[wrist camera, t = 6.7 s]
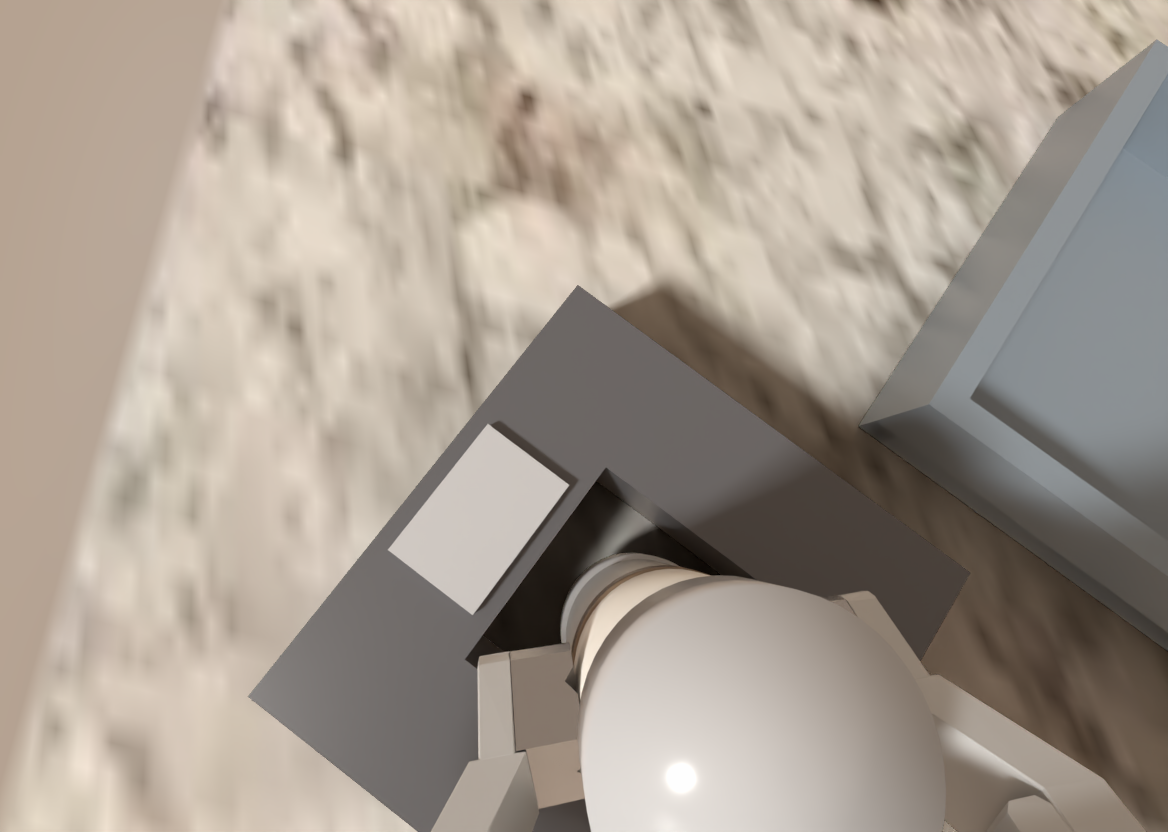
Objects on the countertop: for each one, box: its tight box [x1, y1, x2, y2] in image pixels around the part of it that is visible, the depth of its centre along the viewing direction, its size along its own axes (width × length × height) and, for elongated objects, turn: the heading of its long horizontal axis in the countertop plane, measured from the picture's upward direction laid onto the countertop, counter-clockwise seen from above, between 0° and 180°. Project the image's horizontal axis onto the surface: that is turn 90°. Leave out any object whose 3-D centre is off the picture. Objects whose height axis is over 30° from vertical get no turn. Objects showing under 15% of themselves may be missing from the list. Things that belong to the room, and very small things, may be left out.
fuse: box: [560, 553, 946, 832], centre depth 11 cm, size 4×4×10 cm
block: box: [248, 285, 970, 832], centre depth 16 cm, size 12×12×4 cm
